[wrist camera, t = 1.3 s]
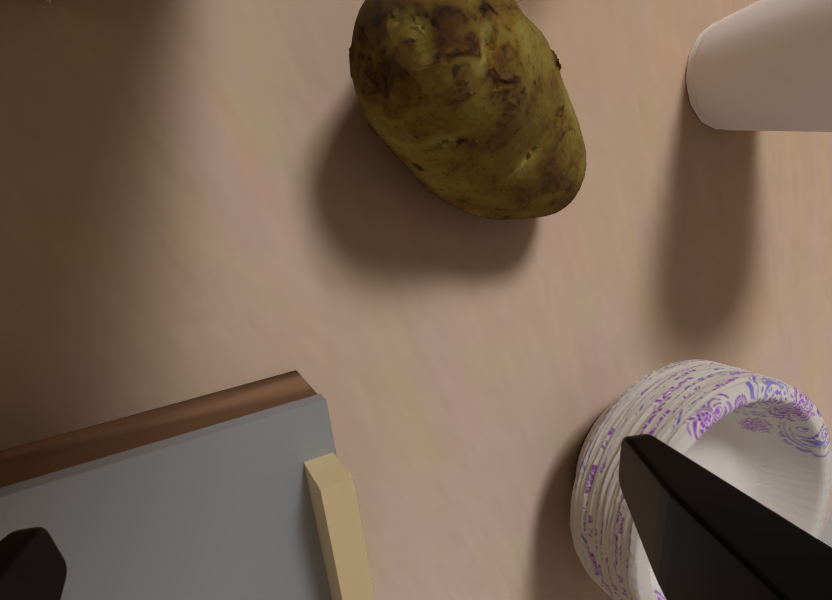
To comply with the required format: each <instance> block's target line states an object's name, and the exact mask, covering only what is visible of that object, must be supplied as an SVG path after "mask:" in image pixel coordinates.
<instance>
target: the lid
mask: <svg viewBox="0 0 832 600" xmlns="http://www.w3.org/2000/svg"><path fill="white" fill-rule="evenodd" d="M33 527H43V528H45V529H46V530H47V531H48V532H49V534H50V535H51V537H52V539H53V540H54V542H55V544H56V545H57V547H58V549H59V551H60V552H61V554H62V556H63V557H64V559H65V561H66V566H67V576H66V581H65V585H64V588H63V592H62V596H61V600H375V594H374V589H373V583H372V578H371V573H370V567H369V562H368V557H367V551H366V546H365V540H364V535H363V530H362V524H361V519H360V513H359V508H358V503H357V497H356V492H355V486H354V481H353V478H352V476H351V475H350V474H349V472H348V471H347V470H346V468H345V467H344V466H343V464H342V463H341V462H340V460H339V459H338V458H337V455H336V450H335V445H334V440H333V434H332V429H331V424H330V419H329V413H328V408H327V403H326V399H325V398H324V397H323V396H322V395H321V394H317V395H314V396H310V397H307V398H303V399H300V400H297V401H293V402H290V403H287V404H283V405H280V406H276V407H273V408H270V409H266V410H263V411H259V412H256V413H253V414H249V415H246V416H242V417H239V418H236V419H232V420H229V421H225V422H222V423H219V424H215V425H212V426H209V427H205V428H202V429H198V430H195V431H192V432H188V433H185V434H181V435H178V436H175V437H171V438H168V439H164V440H161V441H158V442H154V443H151V444H147V445H144V446H141V447H137V448H134V449H131V450H127V451H124V452H120V453H117V454H114V455H110V456H107V457H103V458H100V459H97V460H93V461H90V462H86V463H83V464H80V465H76V466H73V467H69V468H66V469H63V470H59V471H56V472H53V473H49V474H46V475H42V476H39V477H36V478H32V479H29V480H25V481H22V482H19V483H15V484H12V485H8V486H5V487H2V488H0V541H1V540H2V539H3V538H4V537H6V536H7V535H8V534H9V533H11V532H13V531H16V530H20V529H26V528H33Z"/></svg>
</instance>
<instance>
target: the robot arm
mask: <svg viewBox="0 0 832 600" xmlns="http://www.w3.org/2000/svg"><path fill="white" fill-rule="evenodd" d="M618 476H619V484H620V487H621V491H622V493H623V496H624V498H625V501H626V503H627V506H628V509H629V511H630V514H631V516H632V519H633V521H634V524H635V527H636V529H637V532H638V534H639V537H640V539H641V542H642V545H643V547H644V550H645V552H646V555H647V557H648V560H649V562H650V565H651V568H652V570H653V572H654V575H655V577H656V580H657V582H658V584H659V586H660V588H661V590H662V592H663V594H664V596H665V598H666V600H832V548H831V547H830V546H828V545H827V544H825V543H823V542H822V541H820V540H819V539H817V538H815V537H814V536H812V535H811V534H809V533H807V532H806V531H804V530H803V529H801V528H799V527H798V526H796V525H795V524H793V523H791V522H790V521H788V520H787V519H785V518H783V517H782V516H780V515H779V514H777V513H776V512H774V511H772V510H771V509H769V508H768V507H766V506H764V505H763V504H761V503H760V502H758V501H756V500H755V499H753V498H752V497H750V496H748V495H747V494H745V493H744V492H742V491H740V490H739V489H737V488H736V487H734V486H732V485H731V484H729V483H728V482H726V481H724V480H723V479H721V478H720V477H718V476H716V475H715V474H713V473H712V472H710V471H709V470H707V469H705V468H704V467H702V466H701V465H699V464H697V463H696V462H694V461H693V460H691V459H689V458H688V457H686V456H685V455H683V454H681V453H680V452H678V451H677V450H675V449H673V448H672V447H670V446H669V445H667V444H665V443H664V442H662V441H661V440H659V439H657V438H656V437H654V436H652V435H650V434H639V435H632V436H627V437H625V438H623V440H622V442H621V449H620V461H619V474H618ZM66 576H67V566H66V561H65V559H64V557H63V556H62V554H61V552H60V551H59V549H58V547H57V545H56V544H55V542H54V540H53V539H52V537H51V535H50V534H49V532H48V531H47V530H46V529H45V528H43V527H33V528H26V529H20V530H16V531H13V532H11V533H9V534H8V535H7V536H6V537H4V538H3V539H2V540H1V541H0V600H61V596H62V592H63V588H64V585H65V581H66Z"/></svg>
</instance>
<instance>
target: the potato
mask: <svg viewBox="0 0 832 600" xmlns="http://www.w3.org/2000/svg"><path fill="white" fill-rule="evenodd" d="M349 60H350V73H351V77H352V79H353V83H354V86H355V90H356V93H357V96H358V99H359V102H360V104H361V107H362V109H363V112H364V114H365V116H366V118H367V120H368V122H369V123H368V127H369V128H370V129H371V130H373V131H374V132H375V133H376V135H378V136H379V137H380V138H381V139H382V140H383V142H384V143H385V144H386V145H387V147H388V148H389V149H390V150H391V151H392V152H393V153H394V154H395V155H396V156H397V157H398V158H399V159H400V160H401V161H402V162H403V163H404V164H405V165H406V166H407V167H409V168H410V169H411V170H412V172H413V174H414V175H415V176H416V177H417V179H418V180H419V181H420V182H421V183H422V184H423V185H424V186H425V187H426V188H427V189H428V190H429V191H430V192H431V193H432V194H434V195H436V196H438V197H439V198H441V199H442V200H444V201H446V202H448V203H450V204H451V205H453V206H455V207H457V208H459V209H461V210H463V211H466V212H468V213H471V214H474V215H477V216H481V217H485V218H489V219H502V220H506V219H523V218H536V217H543V216H548V215H551V214H554V213H557V212H558V211H560V210H562V209H563V208H565V207H566V206H567V205H568V204H570V203H571V202H572V200H573V199H574V198H575V196H576V194H577V193H578V191H579V189H580V187H581V184H582V182H583V179H584V176H585V171H586V150H585V145H584V141H583V137H582V133H581V130H580V126H579V123H578V120H577V117H576V114H575V111H574V109H573V106H572V104H571V102H570V99H569V96H568V94H567V91H566V88H565V86H564V83H563V80H562V77H561V74H560V69H561V64H559V61H558V60H559V59H557V55H556V54H555V53H554V51H553V50H551V49H550V47H549V44H548V42H547V40H546V38H545V37H544V35H543V34H542V32H541V31H540V30H539V29H538V28H537V27H536V26H535V25H534V24H533V23H532V22H531V21H530V20H529V19H528V18H527V17H526V16H524V14H523V13H522V11H521V9H520V8H519V6H518V5H517V3H516V1H515V0H365V1H364V3H363V5H362V6H361V8H360V10H359V13H358V16H357V19H356V22H355V26H354V31H353V37H352V44H351V47H350V48H349Z"/></svg>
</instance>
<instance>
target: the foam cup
mask: <svg viewBox="0 0 832 600" xmlns="http://www.w3.org/2000/svg"><path fill="white" fill-rule="evenodd" d="M686 85H687V90H688V96H689V101H690V105H691V106H692V108H693V110H694V111H695V113H696V114H697V116H698V118H699V119H700V121H701V122H702V123H704V124H706V125H708V126H710V127H712V128H713V129H715V130H719V129H724V130H740V131H804V132H832V0H760V1H758V2H756V3H753V4H751V5H749V6H747V7H745V8H743V9H741V10H739V11H737V12H735V13H733V14H731V15H729V16H727V17H725V18H723V19H721V20H720V21H719V22H716V23H713V24H712V25H711V26H709V27H708V28H707V29H706V30H704V31H703V32H702V33H701V34H699V35H698V37H697V39H696V41H695V44H694V46H693V48H692V50H691V52H690V54H689V56H688V65H687V73H686Z"/></svg>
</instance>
